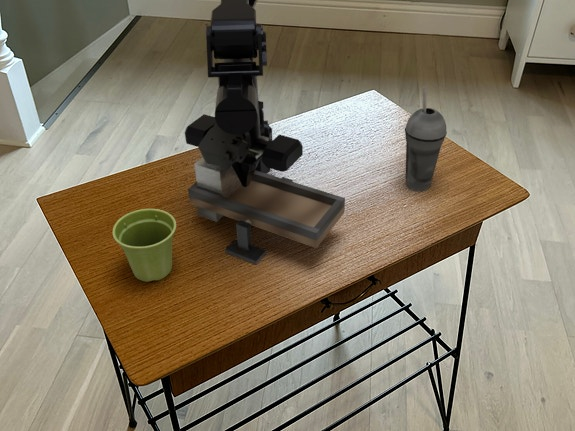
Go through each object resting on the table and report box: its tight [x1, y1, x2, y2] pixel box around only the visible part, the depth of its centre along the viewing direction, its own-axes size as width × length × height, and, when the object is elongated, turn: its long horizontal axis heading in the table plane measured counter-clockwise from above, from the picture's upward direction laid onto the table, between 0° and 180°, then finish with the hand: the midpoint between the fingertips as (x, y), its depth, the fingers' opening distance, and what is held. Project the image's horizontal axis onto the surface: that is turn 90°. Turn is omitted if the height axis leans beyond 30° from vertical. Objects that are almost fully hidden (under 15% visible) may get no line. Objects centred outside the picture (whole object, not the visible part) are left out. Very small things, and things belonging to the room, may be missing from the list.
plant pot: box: [112, 208, 177, 283], centre depth 94 cm, size 9×9×9 cm
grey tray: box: [187, 170, 346, 249], centre depth 101 cm, size 24×12×6 cm, turn 61°
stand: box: [224, 176, 294, 266], centre depth 102 cm, size 6×17×6 cm, turn 151°
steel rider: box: [193, 156, 242, 198], centre depth 101 cm, size 5×7×6 cm
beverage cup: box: [404, 85, 447, 192], centre depth 108 cm, size 7×7×20 cm
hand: (246, 185), depth 100 cm, fingers closed
